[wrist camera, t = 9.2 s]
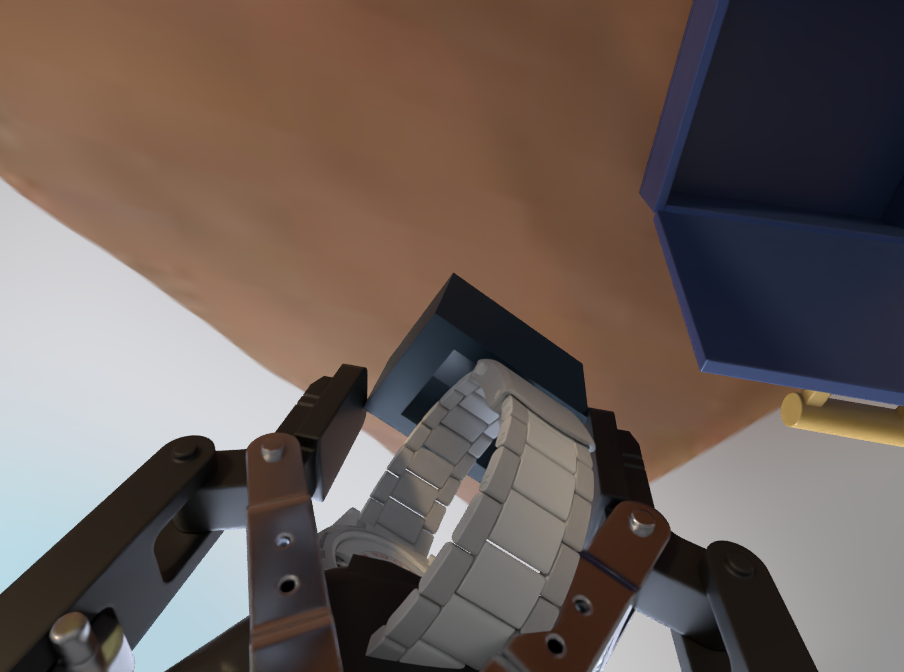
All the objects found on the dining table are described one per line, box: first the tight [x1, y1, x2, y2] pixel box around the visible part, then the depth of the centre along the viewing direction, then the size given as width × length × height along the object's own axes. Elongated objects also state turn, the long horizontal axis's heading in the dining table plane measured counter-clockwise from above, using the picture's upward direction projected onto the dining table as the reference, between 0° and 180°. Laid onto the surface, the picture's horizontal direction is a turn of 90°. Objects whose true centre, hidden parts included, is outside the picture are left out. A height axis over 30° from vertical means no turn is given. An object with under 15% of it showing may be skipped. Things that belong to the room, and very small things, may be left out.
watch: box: [317, 273, 596, 670], centre depth 13 cm, size 6×8×11 cm
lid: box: [654, 210, 904, 447], centre depth 25 cm, size 14×16×4 cm
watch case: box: [639, 0, 904, 244], centre depth 29 cm, size 13×16×6 cm
